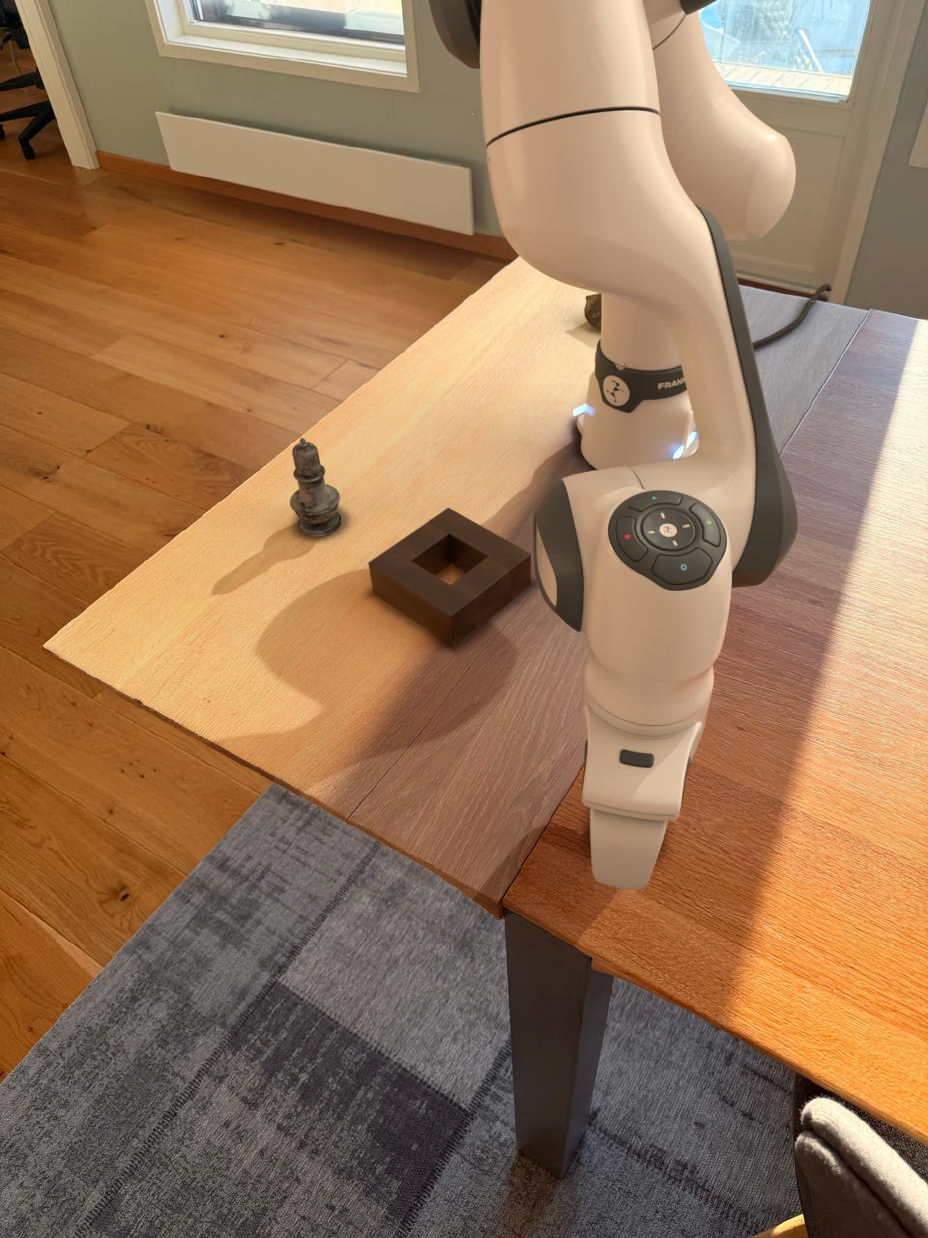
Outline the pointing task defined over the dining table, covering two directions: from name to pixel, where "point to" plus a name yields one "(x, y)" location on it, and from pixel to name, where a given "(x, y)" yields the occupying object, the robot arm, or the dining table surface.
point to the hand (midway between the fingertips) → (628, 809)
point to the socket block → (471, 598)
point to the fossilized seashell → (594, 310)
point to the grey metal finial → (313, 494)
